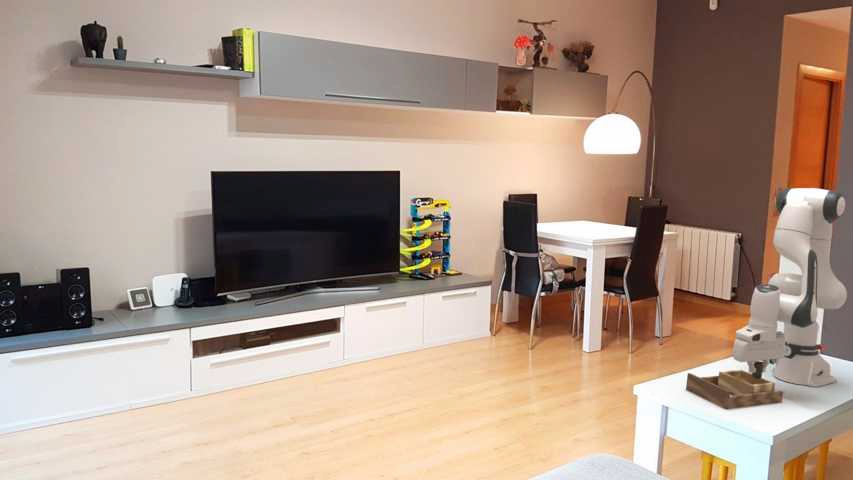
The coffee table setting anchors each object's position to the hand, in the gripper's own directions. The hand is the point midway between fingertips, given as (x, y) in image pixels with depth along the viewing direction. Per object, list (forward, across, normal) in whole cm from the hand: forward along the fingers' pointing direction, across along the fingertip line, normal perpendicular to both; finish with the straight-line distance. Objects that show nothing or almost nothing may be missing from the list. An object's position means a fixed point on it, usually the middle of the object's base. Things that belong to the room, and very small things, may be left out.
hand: (757, 372), depth 239 cm
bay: (+9, +10, 0) cm, 13 cm away
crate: (+8, +4, 0) cm, 9 cm away
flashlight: (+9, -38, -34) cm, 52 cm away
